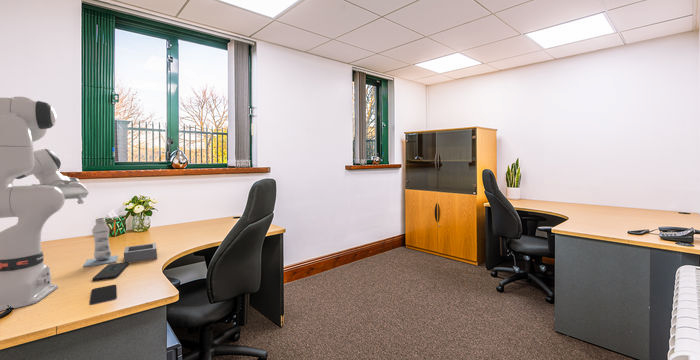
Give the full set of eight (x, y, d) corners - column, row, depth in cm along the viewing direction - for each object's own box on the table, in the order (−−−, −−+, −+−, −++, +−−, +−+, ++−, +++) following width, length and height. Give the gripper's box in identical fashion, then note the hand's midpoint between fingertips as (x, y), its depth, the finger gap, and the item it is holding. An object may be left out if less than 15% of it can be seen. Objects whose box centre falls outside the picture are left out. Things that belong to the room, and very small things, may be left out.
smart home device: (129, 261, 144) (116, 275, 126) (130, 264, 144) (116, 279, 126) (108, 263, 141) (91, 278, 123) (108, 267, 141) (91, 282, 123)
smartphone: (89, 304, 101) (91, 289, 113) (89, 308, 101) (91, 292, 113) (117, 298, 106) (116, 284, 117) (117, 301, 106) (116, 286, 118)
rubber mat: (115, 262, 147) (115, 261, 147) (82, 267, 140) (82, 266, 140) (118, 256, 157) (118, 255, 157) (87, 260, 150) (87, 259, 150)
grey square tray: (157, 258, 152) (156, 248, 152) (124, 263, 145) (123, 252, 145) (156, 252, 163) (156, 243, 163) (126, 256, 156) (125, 247, 156)
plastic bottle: (102, 262, 146) (99, 220, 145) (90, 261, 147) (87, 219, 146) (115, 258, 152) (112, 217, 151) (103, 257, 153) (101, 217, 152)
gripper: (29, 179, 138) (45, 201, 135) (81, 178, 157) (96, 197, 155) (24, 190, 139) (39, 211, 137) (76, 187, 159) (90, 206, 156)
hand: (70, 204), depth 146 cm, fingers open, 8 cm apart
